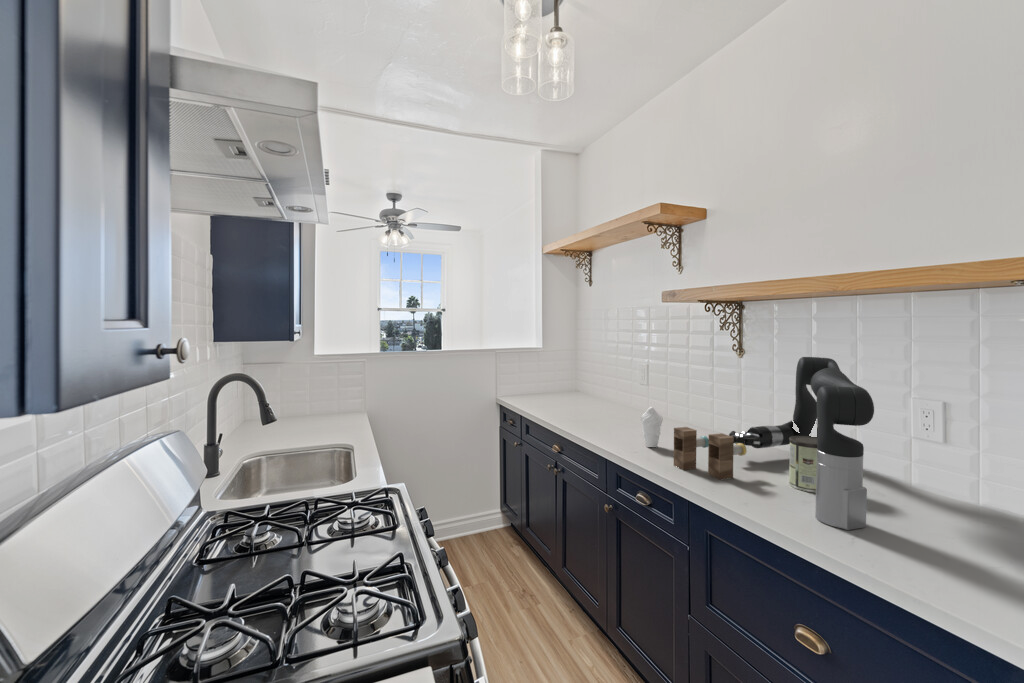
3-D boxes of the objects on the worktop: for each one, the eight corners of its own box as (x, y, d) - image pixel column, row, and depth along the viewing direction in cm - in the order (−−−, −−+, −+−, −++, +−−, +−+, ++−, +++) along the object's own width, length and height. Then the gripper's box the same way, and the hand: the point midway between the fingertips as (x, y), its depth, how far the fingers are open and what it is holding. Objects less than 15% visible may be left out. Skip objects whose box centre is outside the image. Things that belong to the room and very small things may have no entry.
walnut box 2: (733, 478, 142) (733, 437, 141) (719, 479, 140) (720, 438, 140) (721, 472, 147) (721, 433, 146) (708, 474, 145) (708, 434, 145)
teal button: (709, 448, 153) (709, 437, 153) (691, 450, 151) (691, 439, 151) (701, 445, 156) (701, 434, 156) (684, 447, 154) (684, 436, 154)
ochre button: (746, 456, 144) (746, 444, 143) (728, 458, 142) (728, 446, 141) (737, 453, 147) (737, 441, 147) (719, 455, 145) (719, 443, 145)
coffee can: (819, 481, 138) (820, 436, 137) (836, 494, 128) (838, 445, 127) (782, 479, 140) (783, 434, 139) (796, 491, 130) (797, 443, 129)
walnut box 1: (696, 468, 151) (696, 430, 150) (683, 470, 149) (683, 431, 149) (686, 464, 156) (686, 426, 155) (673, 465, 154) (673, 427, 154)
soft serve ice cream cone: (644, 442, 183) (645, 403, 183) (665, 445, 178) (665, 405, 178) (637, 447, 177) (637, 406, 176) (658, 450, 172) (659, 409, 171)
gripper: (750, 422, 167) (711, 425, 163) (780, 430, 155) (739, 434, 150) (750, 442, 168) (711, 446, 163) (780, 452, 155) (738, 456, 150)
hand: (724, 440), depth 157 cm, fingers closed
